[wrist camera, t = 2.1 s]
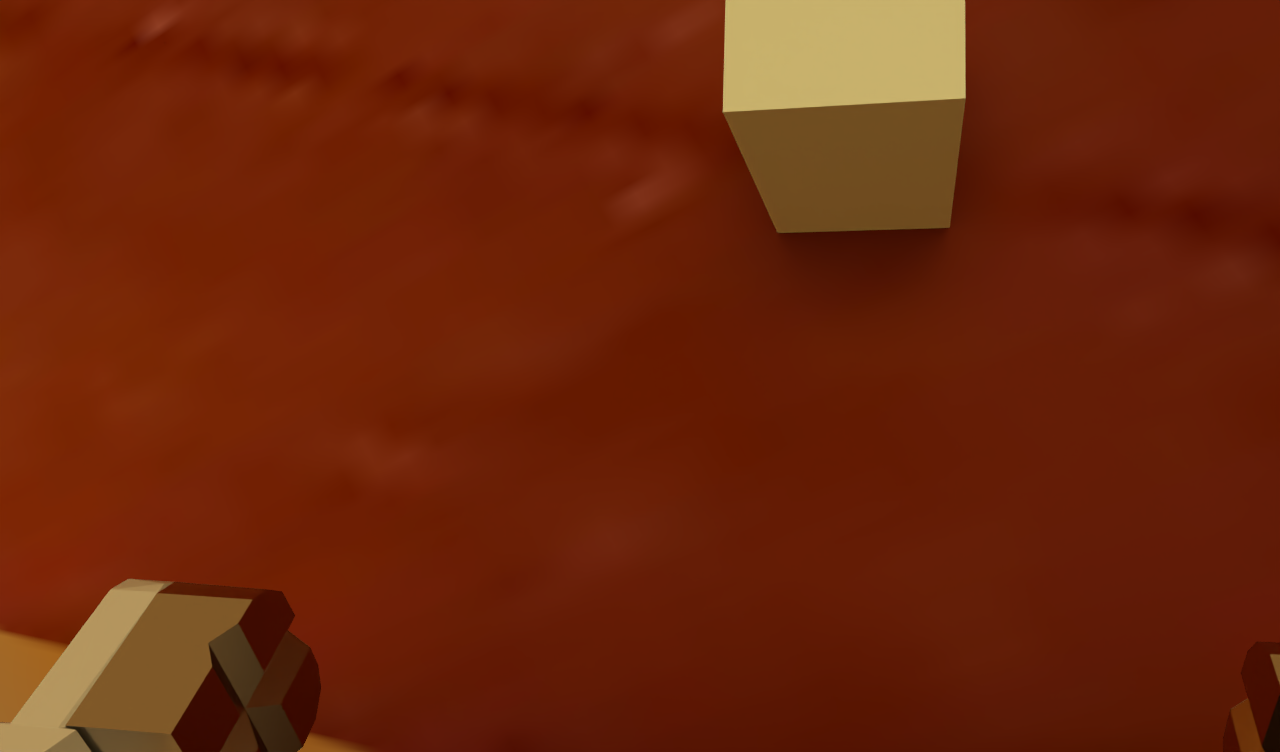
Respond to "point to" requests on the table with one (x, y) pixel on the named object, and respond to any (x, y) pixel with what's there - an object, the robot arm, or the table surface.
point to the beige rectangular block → (848, 109)
